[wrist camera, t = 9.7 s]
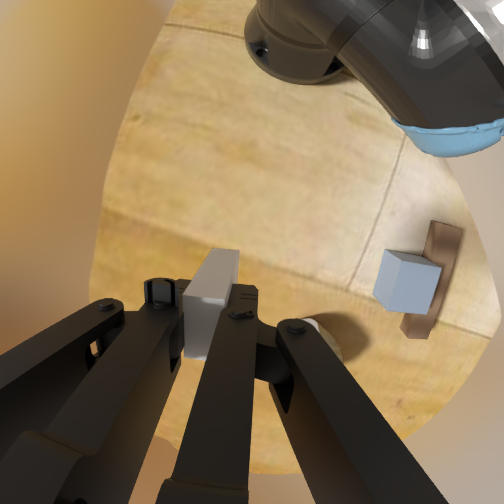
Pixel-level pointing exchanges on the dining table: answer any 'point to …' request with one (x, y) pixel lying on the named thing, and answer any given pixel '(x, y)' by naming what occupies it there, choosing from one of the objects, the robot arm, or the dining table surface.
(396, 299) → the block
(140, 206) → the dining table surface
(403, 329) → the brown wavy bar
